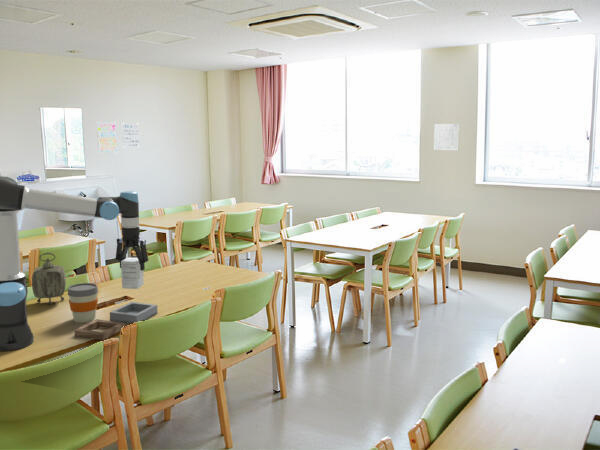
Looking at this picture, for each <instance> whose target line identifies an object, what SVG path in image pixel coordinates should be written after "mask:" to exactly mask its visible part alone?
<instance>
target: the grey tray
mask: <svg viewBox="0 0 600 450" xmlns="http://www.w3.org/2000/svg"><path fill="white" fill-rule="evenodd" d="M157 314H158V304H152V303H145V302H138V301H137V302H135V301H130V302H128V303H126V304H124V305H122V306H120V307H117V308H115V309H113V310H112V311H109V321H113V322H120V323H124V324H131V323H134V322H138V321H142V320H145V321H146V320H149V319H150V318H152V317H154V316H155V315H157ZM153 315H154V316H153ZM131 325H132V324H131Z"/></svg>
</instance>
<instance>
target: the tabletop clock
mask: <svg viewBox="0 0 600 450" xmlns="http://www.w3.org/2000/svg"><path fill="white" fill-rule="evenodd" d="M44 255H51V256H53V258H52V259H49V258H46V260H45V259H42V257H43V256H44ZM55 259H56V255H55V254H54V253H52V252H45V253H42V254H40V256H39V260H40V261H41V262H43V263H42V266H38V267H36V268H34V270H33V273H32V276H31V288H32V292H33V293H32V294H33V295H34V297H35V298H37V300H36V302H37V303H40V302H41V299H48V305H52V304H53V302H52V299H53V298H58V297H60V300H61V301H64V300H65V297H64V294H65V290H66V284H67V282H66V280H67V278H66V270H65V268H64V267H63V266H62V265H58V264H57V265H54V263H53V261H54V260H55Z"/></svg>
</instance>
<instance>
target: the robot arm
mask: <svg viewBox="0 0 600 450" xmlns="http://www.w3.org/2000/svg"><path fill="white" fill-rule="evenodd" d="M139 205H140V204H139V195H138V192H137V191H130V190H126V191H121V192H120V193H119V196H102V197H101V196H98V197H87V196H79V195H74V194H73V195H72V194H66V193H59V192H58V193H57V192H52V191H45V190H37V189H31V188H29V187H27V186H26V185H23V184H18V182H17V181H16V180H15V179H13V178H11V177H9V176H3V175H2V176H0V352H3V351H4V352H6V351H7V352H8V351H14V350H19V349H22V348H25V347H29V346H30V345H32V344H33V343H34V340H35V338H34V337H35V336H34V333H33V332H32V330H31V327H30V325H29V323H28V313H27V311H28V310H27V297H28V292H29V291H28V286H27V279H26V278H27V277H26V273H25V272H23V271H22V267H21V264H22V263H21V253H20V241H19V229H18V228H19V227H18V217H17V216H18V215H17V214H18V213H19V212H20V211H23V210H25V209H29V210H36V211H43V212H44V211H45V212H52V213H61V214H69V215H77V216H85V217H86V216H87V217H93V218H100V219H104V220H107V221H113V220H115V219H116V218H117V217H118V216H119V214H120V222H121V223H120V225H121V237H119V238H116V251H115V252H116V253H115V260H116V261H118V262H119V268H120V269H121V261H122V260H124V259H126V258H127V254H128V251H129V249H130V248H132V250H133V251H134V252H135V255H136V258H138V260H139V264H138V276H139V278H142V277H143V278H144V277H145V276H144V271H145V267H146V265H145V264H146V263H147V262H149V255H148V252H147V251H148V250H147V246H146V243H147V240H146V239H141V238H140V231H141V229H140V212H139V211H140V209H139V207H140V206H139Z"/></svg>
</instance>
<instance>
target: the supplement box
mask: <svg viewBox="0 0 600 450" xmlns="http://www.w3.org/2000/svg"><path fill="white" fill-rule="evenodd" d="M138 264H139V260H138V258H137V257H125V259H124V260H122V261H121V268H120V269H121V270H120V271H121V287H122V288H121V289H127V290H130V289H132V290H138V289H140V288H141V287H142V286H144V285H145V284H144V277H142V278H139V276H138Z"/></svg>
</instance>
